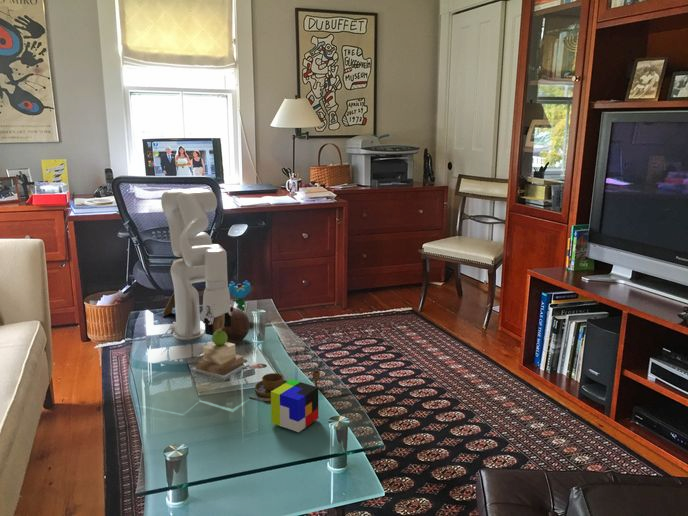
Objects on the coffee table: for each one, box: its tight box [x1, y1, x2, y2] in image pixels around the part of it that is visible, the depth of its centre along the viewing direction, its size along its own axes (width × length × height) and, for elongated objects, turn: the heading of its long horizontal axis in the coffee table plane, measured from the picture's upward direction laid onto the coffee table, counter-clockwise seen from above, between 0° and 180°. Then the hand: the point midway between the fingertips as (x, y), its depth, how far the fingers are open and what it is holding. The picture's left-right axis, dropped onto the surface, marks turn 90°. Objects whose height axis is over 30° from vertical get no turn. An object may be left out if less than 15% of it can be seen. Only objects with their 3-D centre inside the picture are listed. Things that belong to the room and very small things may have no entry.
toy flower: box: [228, 280, 251, 312], centre depth 259 cm, size 9×9×18 cm
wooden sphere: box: [212, 306, 250, 345], centre depth 233 cm, size 15×15×15 cm
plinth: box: [195, 342, 245, 376], centre depth 208 cm, size 12×12×8 cm
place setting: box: [249, 370, 321, 402], centre depth 192 cm, size 18×20×6 cm
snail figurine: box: [211, 314, 227, 346], centre depth 207 cm, size 5×6×12 cm
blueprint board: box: [189, 362, 251, 380], centre depth 209 cm, size 16×14×1 cm
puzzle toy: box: [270, 379, 319, 433], centre depth 172 cm, size 10×10×10 cm
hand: (218, 330), depth 206 cm, fingers open, 9 cm apart
